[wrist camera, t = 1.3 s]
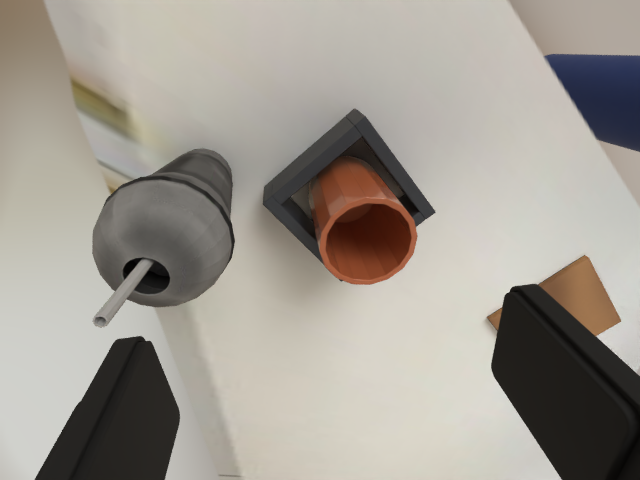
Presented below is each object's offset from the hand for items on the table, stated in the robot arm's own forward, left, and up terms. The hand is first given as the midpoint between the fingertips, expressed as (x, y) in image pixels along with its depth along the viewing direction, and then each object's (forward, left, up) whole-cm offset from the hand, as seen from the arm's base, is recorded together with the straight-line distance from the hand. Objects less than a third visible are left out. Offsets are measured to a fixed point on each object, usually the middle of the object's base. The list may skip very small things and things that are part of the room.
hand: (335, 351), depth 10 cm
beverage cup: (+7, -3, -23) cm, 25 cm away
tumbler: (-1, +6, -23) cm, 24 cm away
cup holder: (-1, +6, -23) cm, 24 cm away
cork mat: (-10, +35, -23) cm, 43 cm away
